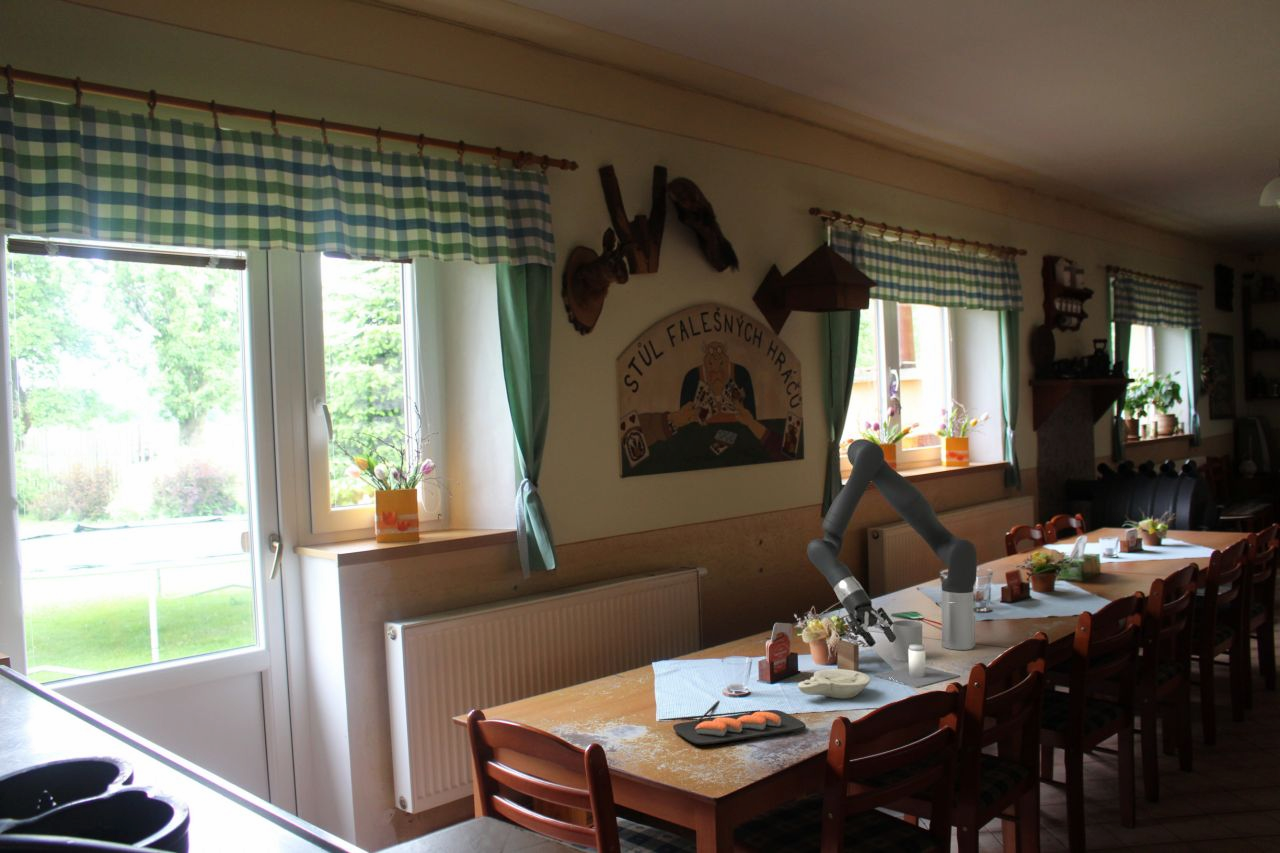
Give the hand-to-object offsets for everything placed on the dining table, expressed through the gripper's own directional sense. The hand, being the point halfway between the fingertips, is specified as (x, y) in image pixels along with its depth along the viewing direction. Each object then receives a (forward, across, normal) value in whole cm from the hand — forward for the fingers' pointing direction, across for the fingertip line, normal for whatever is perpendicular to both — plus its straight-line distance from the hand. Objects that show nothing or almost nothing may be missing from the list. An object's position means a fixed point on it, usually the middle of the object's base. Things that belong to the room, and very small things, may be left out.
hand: (883, 642), depth 279 cm
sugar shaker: (+13, 0, -4) cm, 14 cm away
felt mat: (+13, 0, -4) cm, 14 cm away
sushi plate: (+12, -67, -1) cm, 68 cm away
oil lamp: (+13, -32, -3) cm, 35 cm away
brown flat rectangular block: (+3, -11, +7) cm, 13 cm away
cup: (+3, +14, +7) cm, 16 cm away
